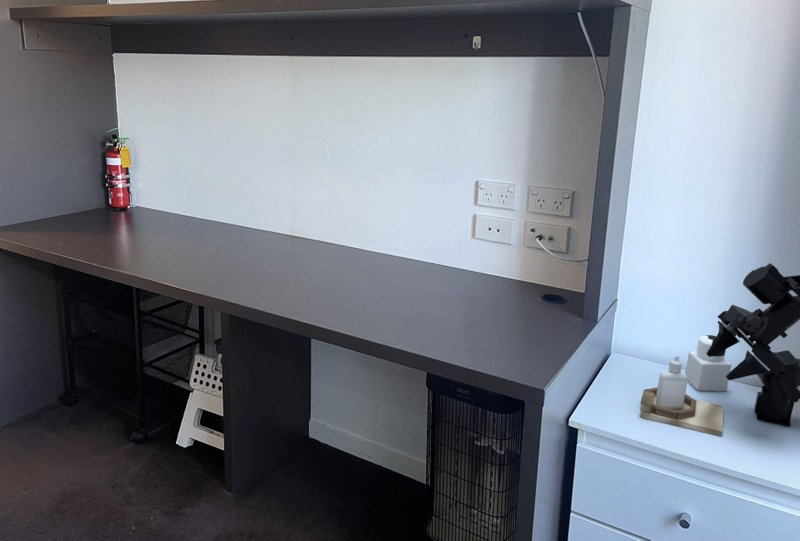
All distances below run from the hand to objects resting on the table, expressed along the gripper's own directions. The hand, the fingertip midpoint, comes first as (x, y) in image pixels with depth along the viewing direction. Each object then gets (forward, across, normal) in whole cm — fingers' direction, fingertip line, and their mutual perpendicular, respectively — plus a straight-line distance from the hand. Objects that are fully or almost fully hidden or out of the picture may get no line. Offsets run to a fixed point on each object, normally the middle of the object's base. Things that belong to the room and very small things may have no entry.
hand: (717, 366), depth 143 cm
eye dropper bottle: (+13, 0, 0) cm, 13 cm away
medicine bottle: (+6, -12, +12) cm, 18 cm away
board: (+12, +2, +2) cm, 13 cm away
